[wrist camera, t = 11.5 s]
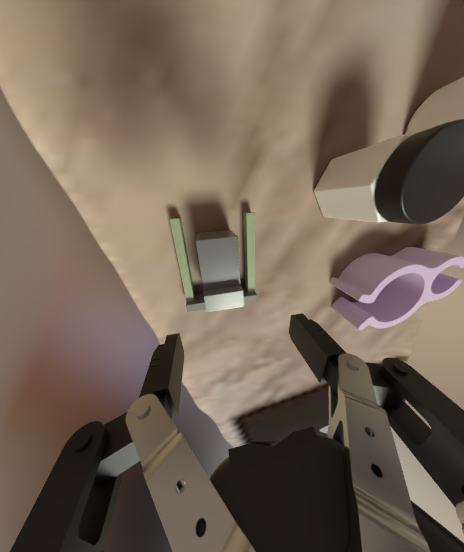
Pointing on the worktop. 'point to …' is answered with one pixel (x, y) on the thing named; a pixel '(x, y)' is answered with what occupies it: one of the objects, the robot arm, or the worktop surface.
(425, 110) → the alcohol
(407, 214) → the jar
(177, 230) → the deck socket
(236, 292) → the upright grey block
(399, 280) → the clip
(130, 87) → the worktop surface
